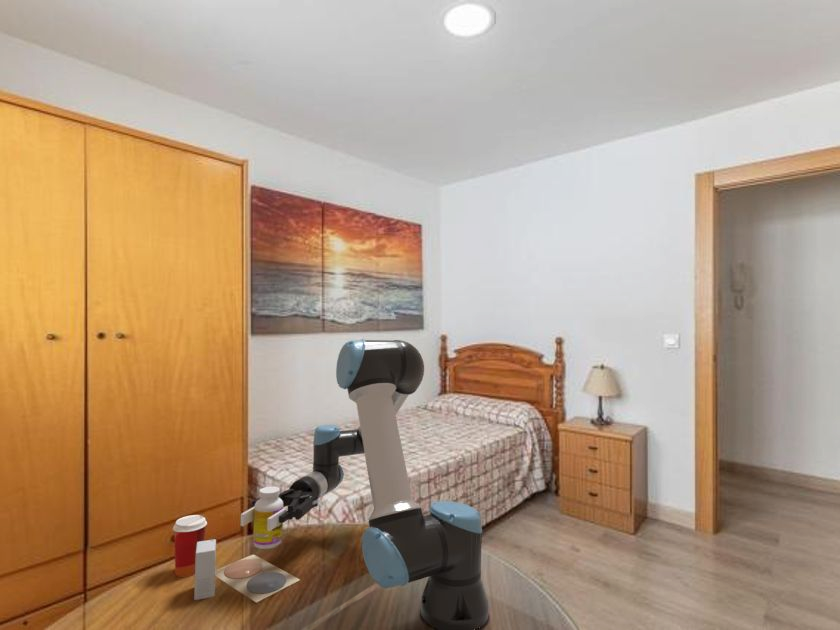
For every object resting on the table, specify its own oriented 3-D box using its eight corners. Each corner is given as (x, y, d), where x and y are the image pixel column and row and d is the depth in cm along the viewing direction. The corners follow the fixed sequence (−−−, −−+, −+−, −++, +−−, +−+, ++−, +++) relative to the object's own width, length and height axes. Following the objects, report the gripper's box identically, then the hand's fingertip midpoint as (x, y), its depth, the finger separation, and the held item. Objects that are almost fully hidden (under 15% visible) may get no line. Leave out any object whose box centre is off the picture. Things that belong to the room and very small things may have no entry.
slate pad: (293, 581, 109) (293, 580, 109) (261, 598, 102) (261, 597, 102) (271, 569, 115) (271, 568, 115) (238, 584, 108) (239, 583, 108)
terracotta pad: (269, 568, 115) (269, 566, 115) (236, 583, 108) (236, 581, 108) (249, 557, 121) (249, 555, 121) (216, 570, 114) (217, 569, 114)
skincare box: (194, 593, 106) (196, 541, 107) (214, 589, 108) (216, 538, 109) (193, 607, 101) (195, 553, 101) (214, 603, 103) (216, 549, 103)
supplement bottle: (273, 551, 105) (274, 495, 106) (247, 548, 106) (249, 493, 107) (287, 538, 112) (288, 486, 112) (262, 535, 113) (264, 483, 113)
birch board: (300, 586, 110) (300, 579, 110) (256, 609, 101) (256, 602, 101) (253, 559, 122) (253, 554, 122) (209, 578, 113) (210, 572, 113)
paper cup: (195, 565, 119) (197, 511, 119) (211, 575, 114) (213, 519, 115) (164, 578, 112) (166, 521, 113) (179, 589, 108) (182, 529, 108)
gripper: (339, 508, 123) (291, 545, 101) (277, 498, 129) (219, 532, 107) (340, 480, 124) (292, 511, 102) (278, 472, 129) (220, 500, 107)
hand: (255, 522), depth 104 cm, fingers closed on supplement bottle, 7 cm apart
